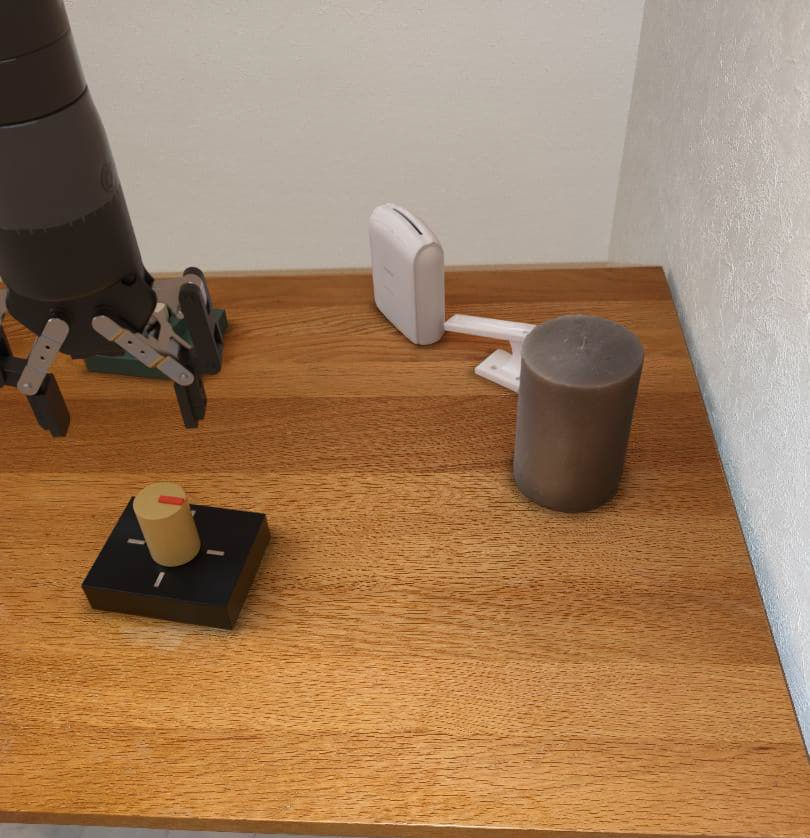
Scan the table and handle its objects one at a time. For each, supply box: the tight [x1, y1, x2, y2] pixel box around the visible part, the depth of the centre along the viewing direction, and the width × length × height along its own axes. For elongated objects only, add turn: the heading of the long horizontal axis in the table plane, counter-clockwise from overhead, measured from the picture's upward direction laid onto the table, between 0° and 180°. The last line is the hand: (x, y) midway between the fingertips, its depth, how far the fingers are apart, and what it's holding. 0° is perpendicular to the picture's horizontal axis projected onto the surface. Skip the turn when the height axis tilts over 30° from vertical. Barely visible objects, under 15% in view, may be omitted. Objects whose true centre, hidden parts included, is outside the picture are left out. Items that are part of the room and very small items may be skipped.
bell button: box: [154, 303, 169, 321], centre depth 92 cm, size 4×4×2 cm
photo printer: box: [368, 202, 446, 346], centre depth 92 cm, size 10×4×12 cm, turn 30°
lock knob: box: [133, 481, 201, 567], centre depth 70 cm, size 4×4×6 cm
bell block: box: [83, 305, 229, 381], centre depth 94 cm, size 12×10×4 cm
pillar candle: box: [512, 313, 645, 513], centre depth 75 cm, size 10×10×15 cm
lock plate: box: [80, 496, 271, 631], centre depth 73 cm, size 12×10×3 cm
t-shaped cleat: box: [444, 313, 537, 394], centre depth 87 cm, size 4×20×5 cm, turn 51°
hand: (128, 425), depth 58 cm, fingers open, 8 cm apart
